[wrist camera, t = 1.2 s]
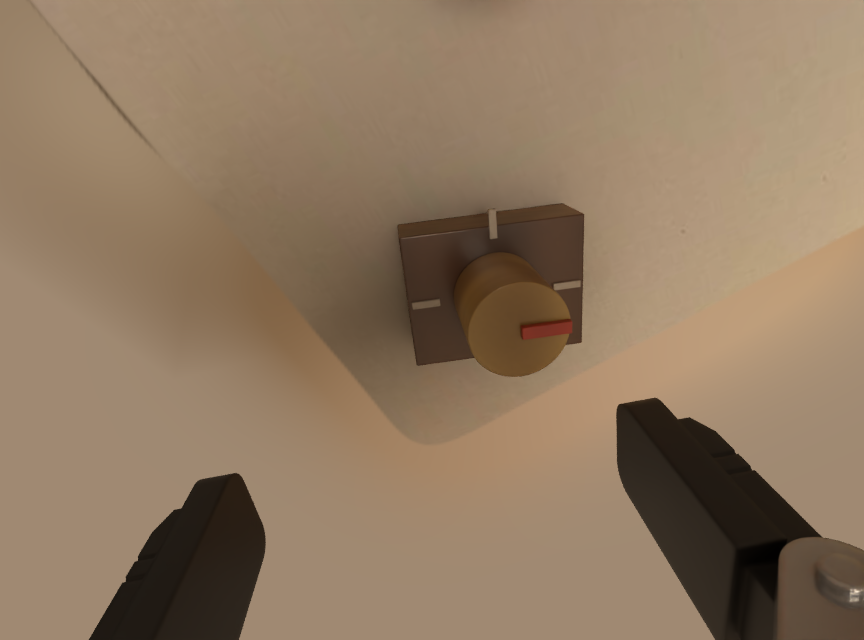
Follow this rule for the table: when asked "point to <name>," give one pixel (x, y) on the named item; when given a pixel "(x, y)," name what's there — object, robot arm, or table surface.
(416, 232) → the panel
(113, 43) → the table surface
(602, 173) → the table surface
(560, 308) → the dial
